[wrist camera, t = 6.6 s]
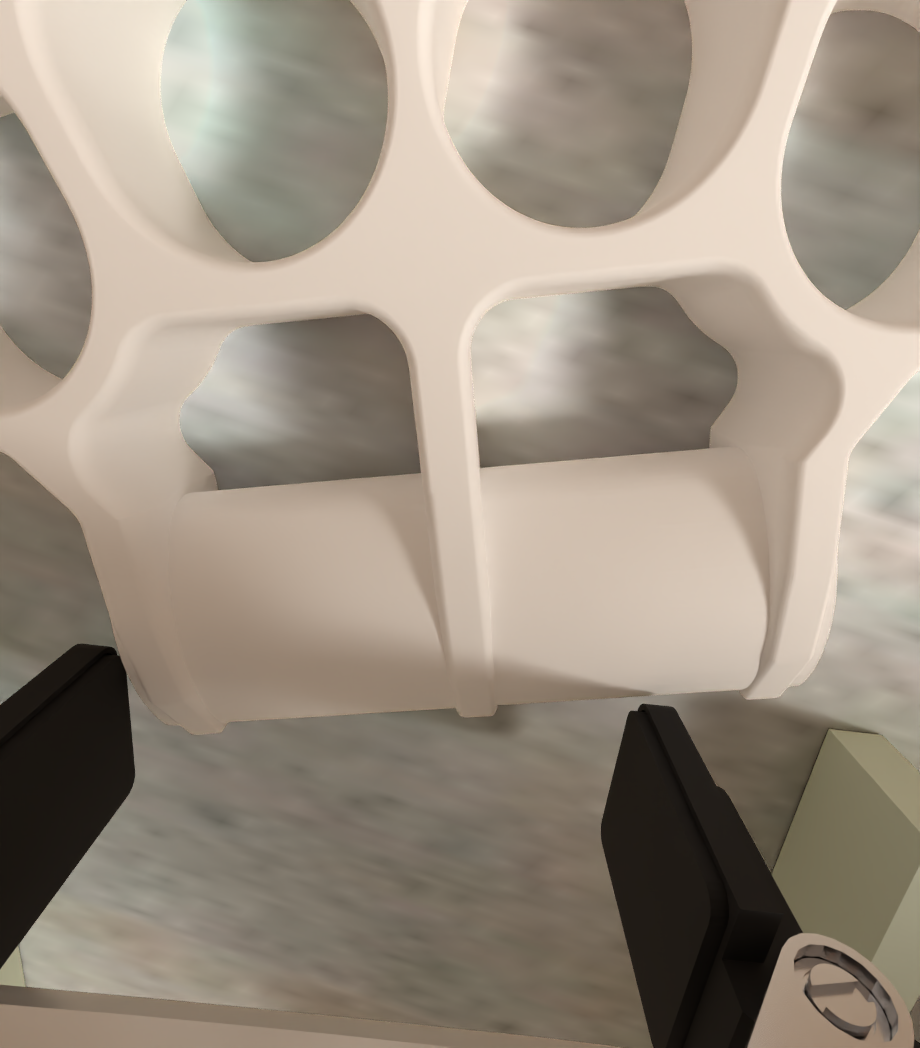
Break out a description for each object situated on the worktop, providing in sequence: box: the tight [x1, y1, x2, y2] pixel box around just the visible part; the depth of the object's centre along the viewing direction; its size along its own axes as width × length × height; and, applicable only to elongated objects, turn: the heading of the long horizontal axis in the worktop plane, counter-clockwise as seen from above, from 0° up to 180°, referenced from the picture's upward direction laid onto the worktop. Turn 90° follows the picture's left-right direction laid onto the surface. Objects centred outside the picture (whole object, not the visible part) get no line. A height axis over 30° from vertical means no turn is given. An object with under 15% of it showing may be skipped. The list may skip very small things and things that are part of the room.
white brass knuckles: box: [0, 0, 920, 735], centre depth 9 cm, size 3×18×15 cm
